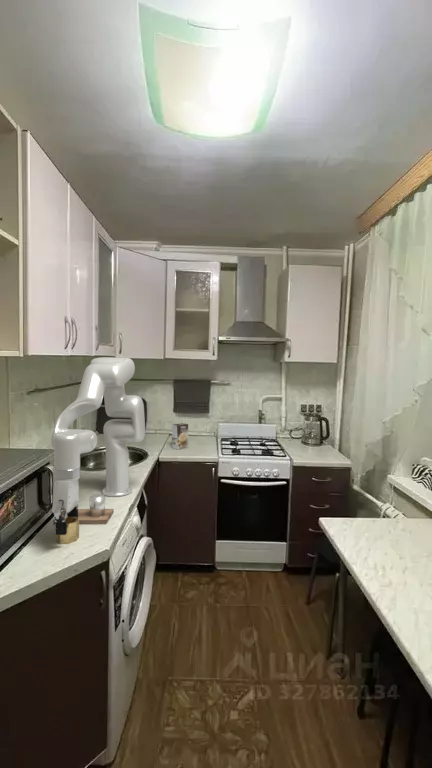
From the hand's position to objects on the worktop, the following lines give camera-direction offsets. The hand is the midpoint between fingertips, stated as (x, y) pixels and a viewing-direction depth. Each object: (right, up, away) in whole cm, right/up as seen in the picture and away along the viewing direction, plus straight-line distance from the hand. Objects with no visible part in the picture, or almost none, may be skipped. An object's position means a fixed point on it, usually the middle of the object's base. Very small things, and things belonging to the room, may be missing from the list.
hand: (67, 527), depth 116 cm
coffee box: (+22, +2, +133) cm, 135 cm away
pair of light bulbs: (0, -2, +17) cm, 17 cm away
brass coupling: (0, -4, +1) cm, 4 cm away
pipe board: (0, -3, +17) cm, 17 cm away
